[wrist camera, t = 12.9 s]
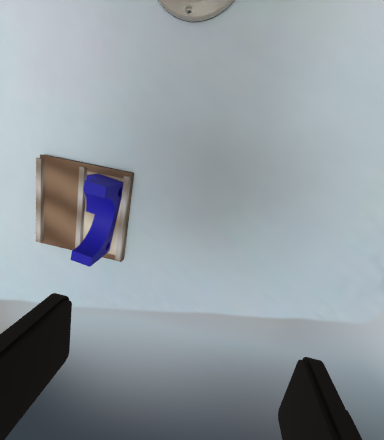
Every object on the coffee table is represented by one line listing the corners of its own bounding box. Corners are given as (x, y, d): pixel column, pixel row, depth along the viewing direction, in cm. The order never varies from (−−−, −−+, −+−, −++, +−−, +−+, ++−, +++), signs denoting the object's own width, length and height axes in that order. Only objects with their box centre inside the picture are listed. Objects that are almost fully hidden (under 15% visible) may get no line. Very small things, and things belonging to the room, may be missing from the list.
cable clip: (97, 173, 36) (74, 176, 31) (125, 182, 36) (106, 187, 30) (84, 242, 40) (61, 256, 34) (109, 250, 40) (89, 266, 34)
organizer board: (44, 154, 38) (36, 154, 36) (133, 173, 37) (129, 173, 35) (43, 240, 42) (35, 243, 40) (123, 259, 41) (119, 263, 39)
